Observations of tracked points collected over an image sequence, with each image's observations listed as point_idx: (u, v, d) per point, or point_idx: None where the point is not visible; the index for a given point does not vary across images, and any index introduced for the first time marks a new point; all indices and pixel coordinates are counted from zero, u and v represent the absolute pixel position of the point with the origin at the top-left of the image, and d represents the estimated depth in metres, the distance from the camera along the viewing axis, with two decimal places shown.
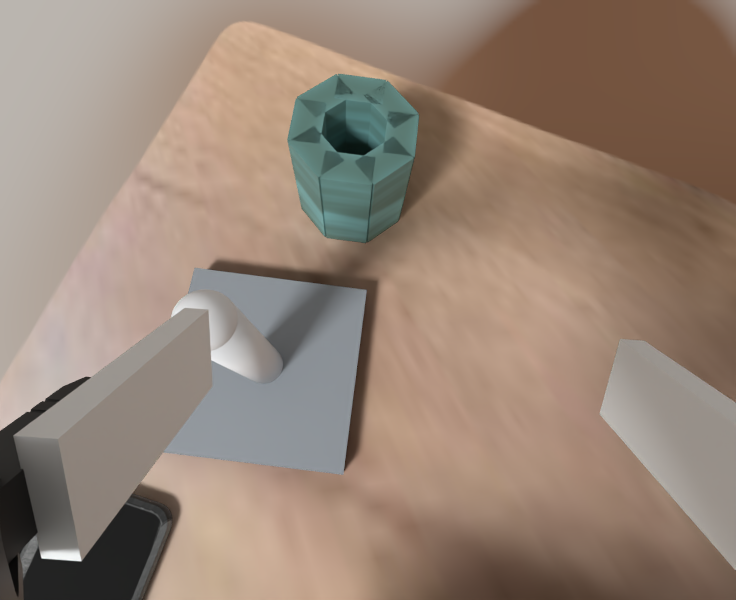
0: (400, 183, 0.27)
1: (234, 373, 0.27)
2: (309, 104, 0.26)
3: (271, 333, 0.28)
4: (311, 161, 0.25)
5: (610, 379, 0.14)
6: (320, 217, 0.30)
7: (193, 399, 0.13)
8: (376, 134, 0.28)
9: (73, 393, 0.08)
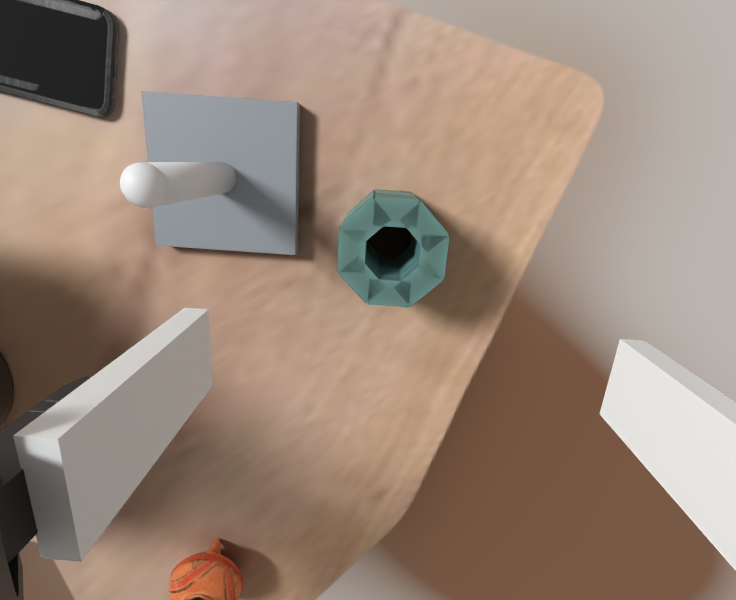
0: None
1: (211, 153, 0.34)
2: (413, 213, 0.29)
3: (248, 180, 0.34)
4: (355, 220, 0.29)
5: (610, 379, 0.14)
6: (349, 214, 0.34)
7: (193, 400, 0.13)
8: (408, 266, 0.32)
9: (73, 393, 0.08)
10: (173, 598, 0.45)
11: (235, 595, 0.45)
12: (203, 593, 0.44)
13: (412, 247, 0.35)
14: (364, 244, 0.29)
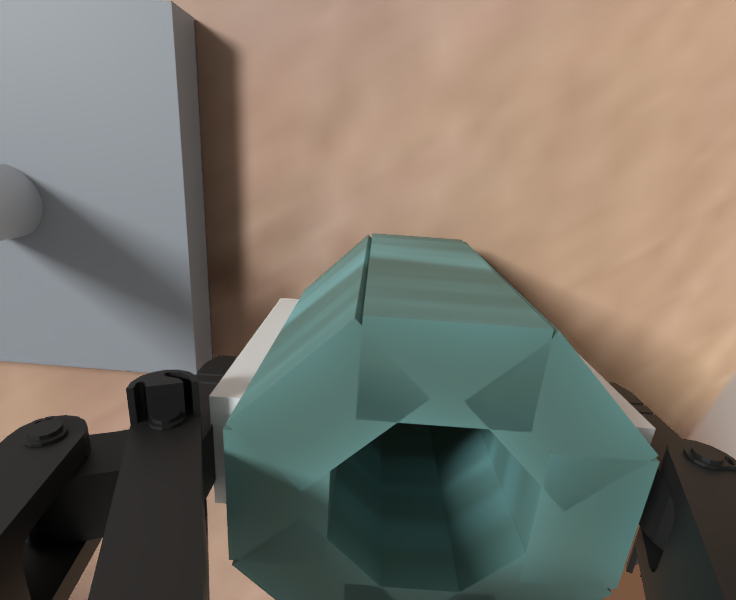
0: None
1: None
2: (524, 378, 0.07)
3: (70, 207, 0.14)
4: (284, 400, 0.07)
5: None
6: (298, 308, 0.12)
7: None
8: (470, 491, 0.10)
9: (234, 365, 0.10)
10: None
11: None
12: None
13: None
14: (324, 481, 0.08)
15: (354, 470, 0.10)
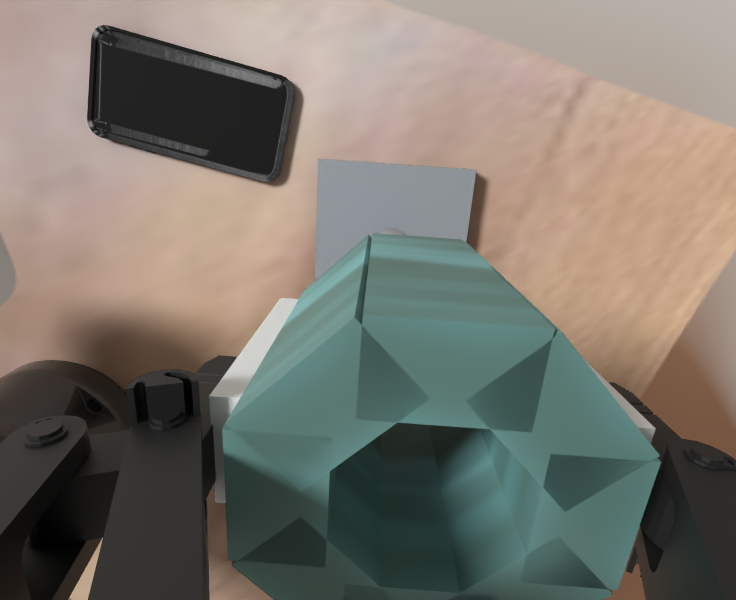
0: None
1: (382, 219, 0.33)
2: (525, 377, 0.07)
3: None
4: (284, 400, 0.07)
5: None
6: (298, 308, 0.12)
7: None
8: (471, 492, 0.10)
9: (234, 365, 0.10)
10: None
11: None
12: None
13: None
14: (324, 481, 0.08)
15: (354, 470, 0.10)
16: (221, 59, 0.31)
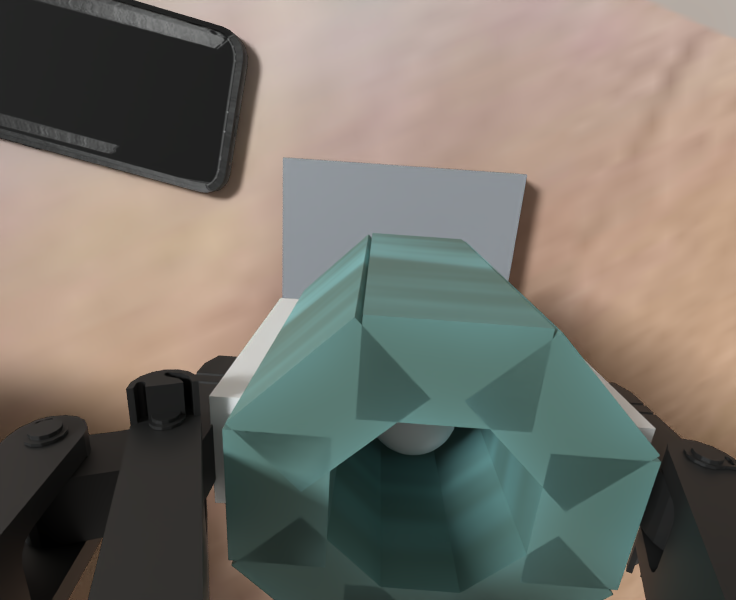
0: None
1: None
2: (525, 377, 0.07)
3: None
4: (283, 400, 0.07)
5: None
6: (298, 308, 0.12)
7: None
8: (471, 492, 0.10)
9: (234, 365, 0.10)
10: None
11: None
12: None
13: None
14: (324, 481, 0.08)
15: (354, 470, 0.10)
16: (127, 0, 0.20)
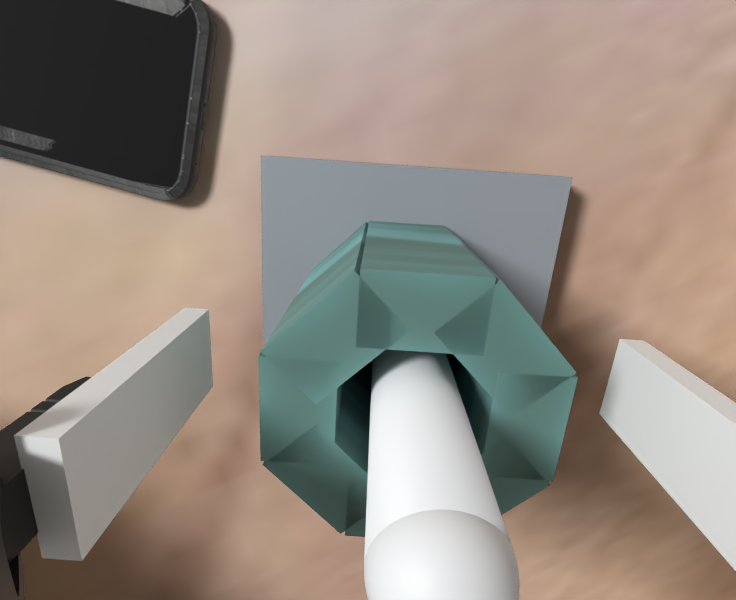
0: None
1: None
2: (476, 314, 0.10)
3: None
4: (304, 333, 0.10)
5: (610, 379, 0.14)
6: (308, 281, 0.15)
7: (193, 400, 0.13)
8: None
9: (74, 393, 0.08)
10: None
11: None
12: None
13: None
14: (332, 396, 0.10)
15: (355, 405, 0.13)
16: None
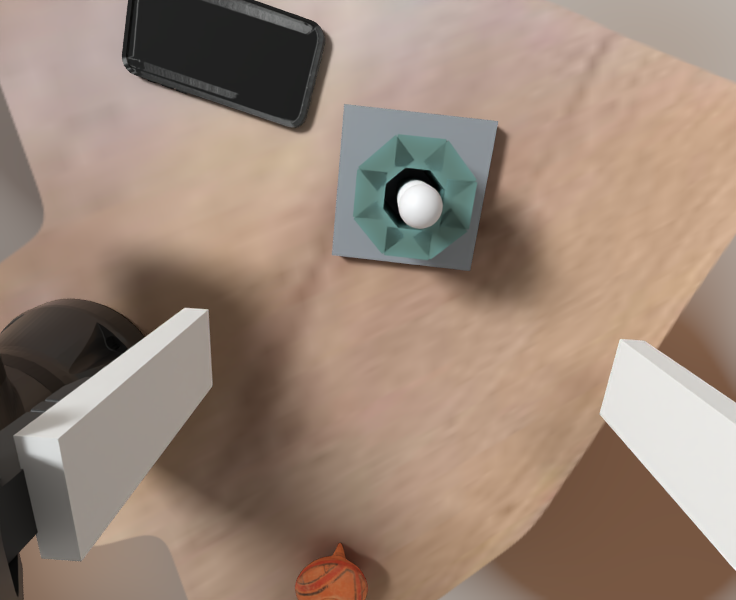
0: None
1: None
2: (439, 153, 0.26)
3: None
4: (375, 159, 0.26)
5: (610, 379, 0.14)
6: None
7: (193, 400, 0.13)
8: None
9: (73, 393, 0.08)
10: None
11: None
12: (336, 597, 0.44)
13: None
14: (383, 187, 0.27)
15: (388, 211, 0.30)
16: (255, 2, 0.32)
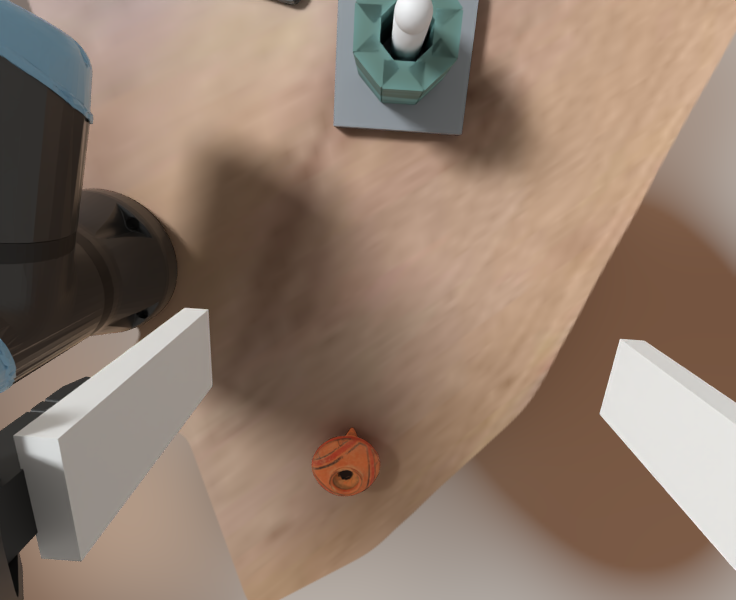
0: (374, 84, 0.33)
1: None
2: None
3: None
4: None
5: (610, 379, 0.14)
6: None
7: (193, 400, 0.13)
8: None
9: (73, 393, 0.08)
10: (320, 474, 0.48)
11: (375, 474, 0.49)
12: (351, 467, 0.47)
13: None
14: (379, 20, 0.30)
15: None
16: None
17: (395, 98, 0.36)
